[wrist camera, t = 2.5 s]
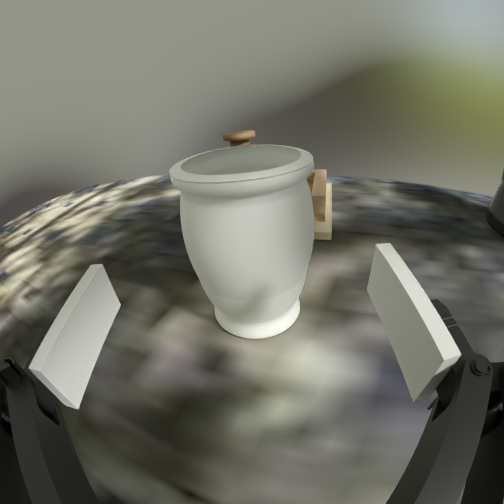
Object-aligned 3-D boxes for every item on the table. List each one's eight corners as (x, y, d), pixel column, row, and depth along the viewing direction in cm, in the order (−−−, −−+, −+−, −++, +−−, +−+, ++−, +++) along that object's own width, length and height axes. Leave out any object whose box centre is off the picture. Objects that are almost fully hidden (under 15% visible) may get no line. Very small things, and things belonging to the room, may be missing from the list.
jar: (184, 324, 26) (139, 176, 18) (240, 267, 33) (223, 142, 25) (282, 366, 21) (275, 187, 13) (324, 291, 28) (331, 146, 20)
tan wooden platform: (331, 189, 53) (331, 129, 46) (331, 240, 37) (334, 151, 30) (226, 187, 58) (219, 132, 52) (185, 232, 42) (169, 157, 36)
